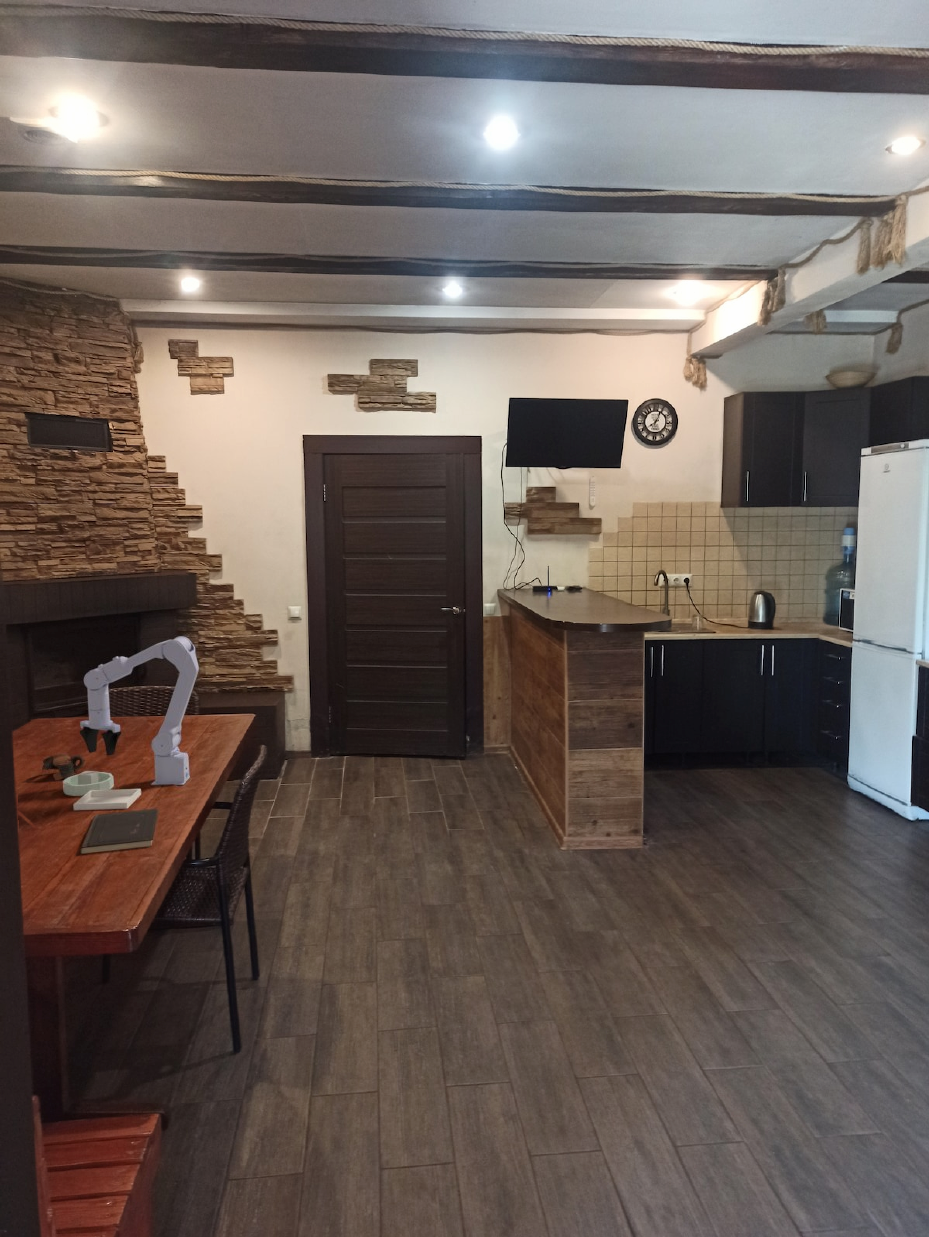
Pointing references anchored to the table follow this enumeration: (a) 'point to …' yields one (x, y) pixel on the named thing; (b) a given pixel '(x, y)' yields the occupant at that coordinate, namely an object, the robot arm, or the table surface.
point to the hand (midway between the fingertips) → (101, 753)
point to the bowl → (80, 790)
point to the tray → (107, 799)
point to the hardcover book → (120, 831)
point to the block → (88, 777)
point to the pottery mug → (63, 765)
